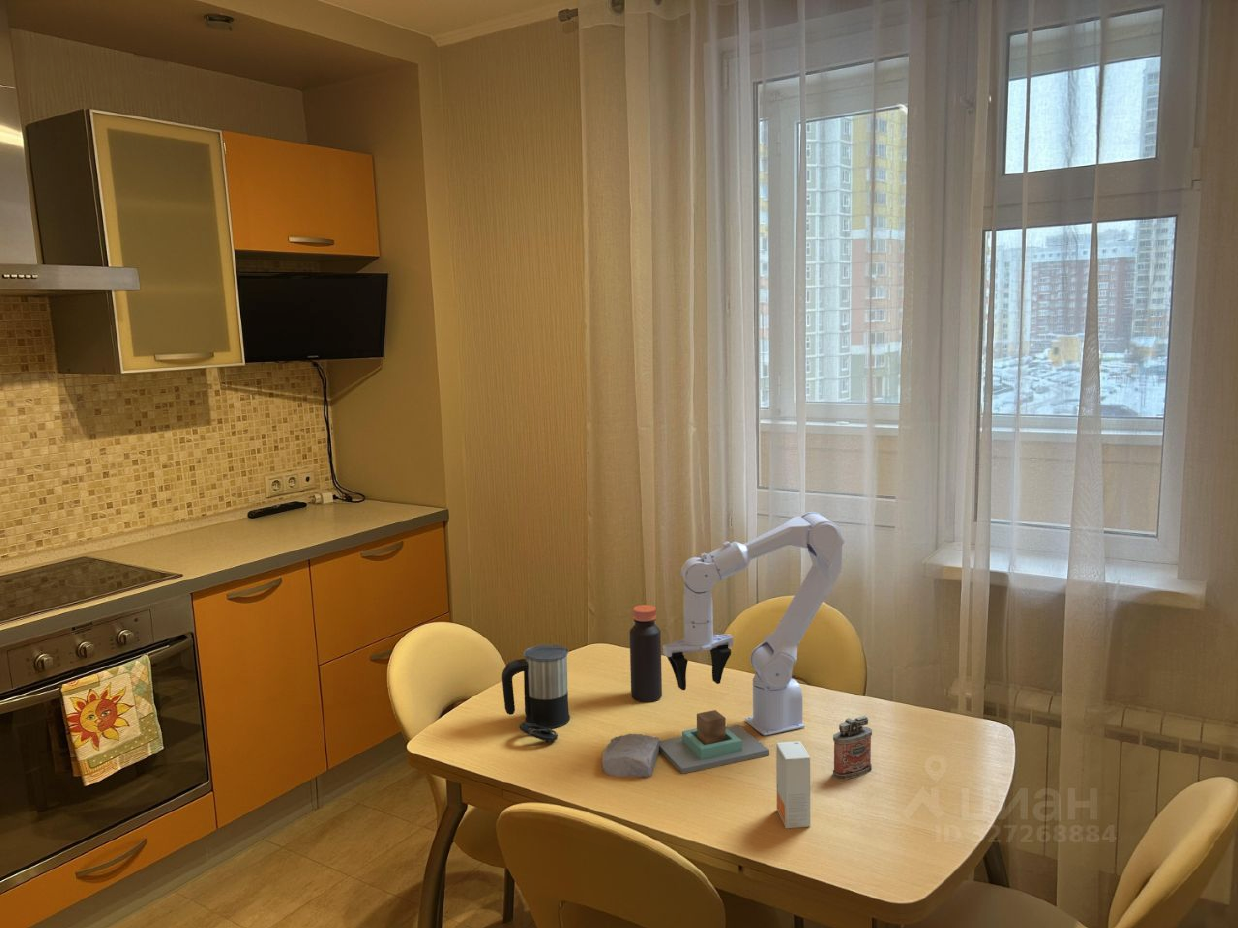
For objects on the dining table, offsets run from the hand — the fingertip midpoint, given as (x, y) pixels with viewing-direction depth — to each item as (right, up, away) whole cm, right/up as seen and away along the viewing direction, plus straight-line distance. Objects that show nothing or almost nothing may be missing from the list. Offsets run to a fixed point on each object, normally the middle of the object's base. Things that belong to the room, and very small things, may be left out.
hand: (699, 685), depth 181 cm
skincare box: (+13, -14, -32) cm, 37 cm away
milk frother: (-31, -10, +4) cm, 33 cm away
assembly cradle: (+2, -11, -8) cm, 13 cm away
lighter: (+26, -12, -17) cm, 33 cm away
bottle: (-10, -7, +19) cm, 22 cm away
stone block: (-14, -12, -11) cm, 22 cm away
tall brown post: (+2, -10, -8) cm, 12 cm away
